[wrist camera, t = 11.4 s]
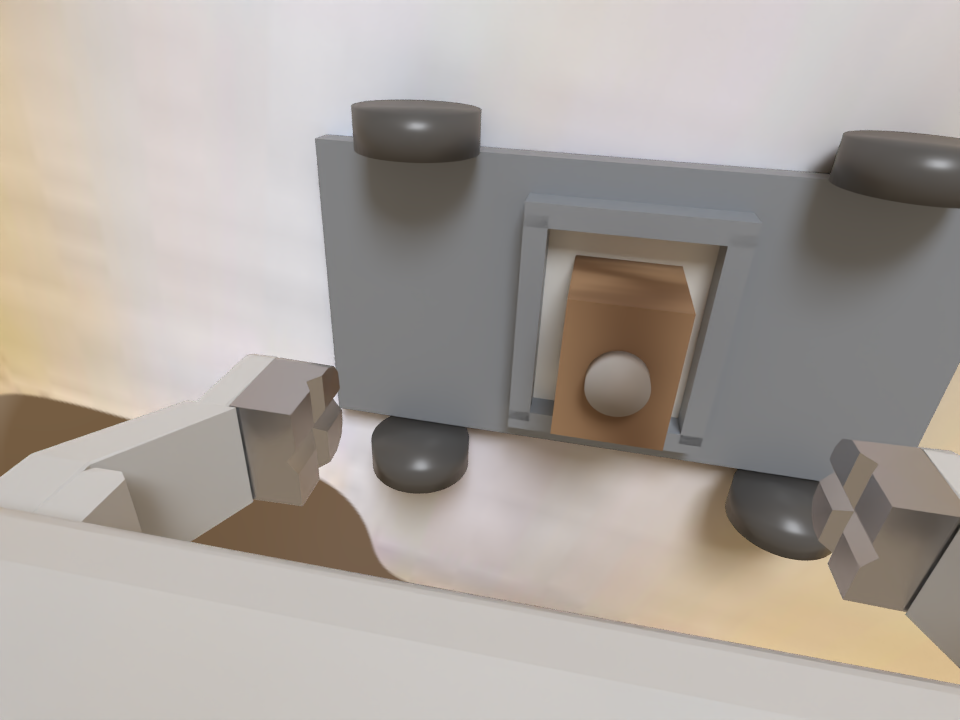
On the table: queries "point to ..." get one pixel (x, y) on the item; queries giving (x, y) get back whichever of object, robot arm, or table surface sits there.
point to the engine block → (622, 351)
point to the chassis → (653, 239)
